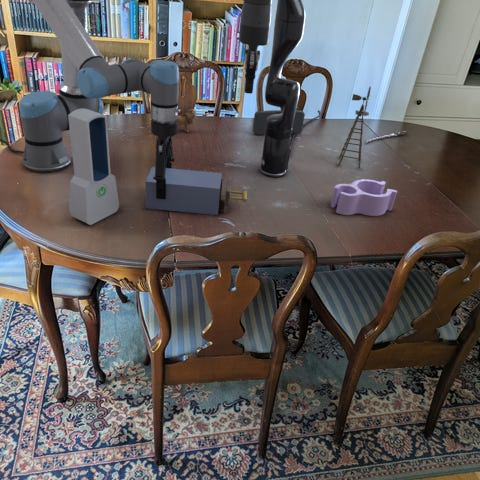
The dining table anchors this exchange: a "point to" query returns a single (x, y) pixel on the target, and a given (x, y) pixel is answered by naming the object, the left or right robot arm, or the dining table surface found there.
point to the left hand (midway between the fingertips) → (164, 189)
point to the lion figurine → (187, 119)
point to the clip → (363, 198)
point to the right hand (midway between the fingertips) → (248, 92)
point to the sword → (384, 137)
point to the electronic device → (91, 168)
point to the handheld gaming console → (262, 116)
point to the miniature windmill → (359, 113)
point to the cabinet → (185, 191)
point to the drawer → (227, 197)
